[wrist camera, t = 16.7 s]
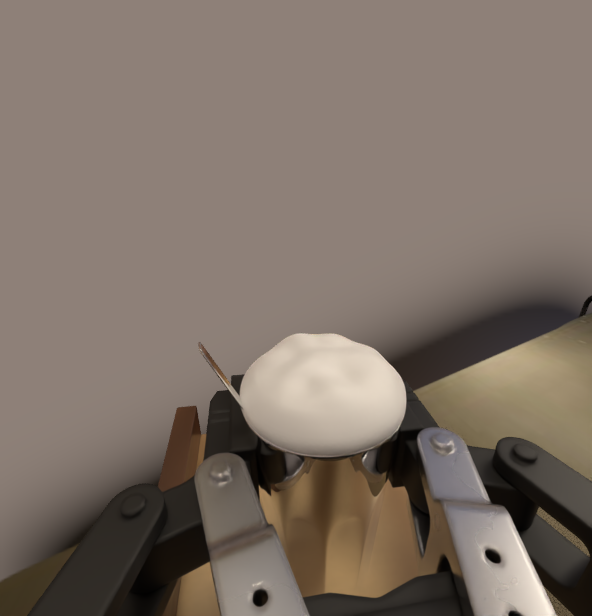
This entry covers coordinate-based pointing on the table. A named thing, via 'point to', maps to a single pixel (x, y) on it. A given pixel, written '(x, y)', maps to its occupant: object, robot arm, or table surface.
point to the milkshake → (322, 451)
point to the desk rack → (182, 466)
